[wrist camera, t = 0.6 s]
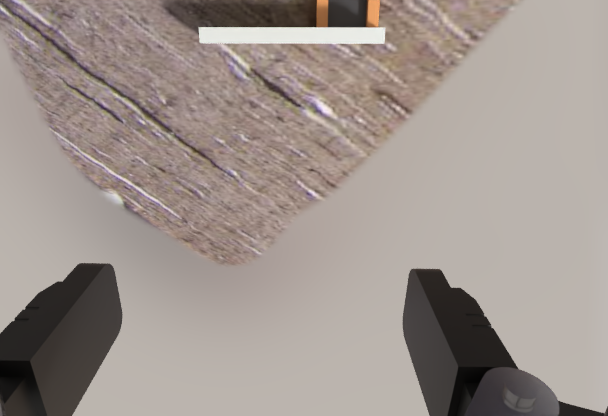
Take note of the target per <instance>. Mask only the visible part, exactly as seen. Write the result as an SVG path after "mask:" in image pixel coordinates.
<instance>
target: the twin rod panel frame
mask: <svg viewBox="0 0 608 416" xmlns="http://www.w3.org/2000/svg"><path fill="white" fill-rule="evenodd" d="M379 4H380V0H317V9H316V27H199V39H200V43H340V44H384V40H385V28H379V27H378V19H379Z"/></svg>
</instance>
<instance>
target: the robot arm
mask: <svg viewBox="0 0 608 416" xmlns="http://www.w3.org/2000/svg"><path fill="white" fill-rule="evenodd" d="M121 324H122V309H121V303H120V298H119V292H118V287H117V282H116V276H115V272H114V268H113V266H112V265H111V264H96V263H81V264H78V265H77V266H76V267H75V268H74V270H73V271H72V272H71V273H70V274H69V275H68V276H67V277H66V279H65V280H64V281H63V282H56V283H55V284H53V285H51V286H50V287H48V288H46V289H45V290H43V291H41V292H40V293H38V294H37V295H36V296H35V298H34V299H33V300H32V301H31V302H30V303H29V304H28V305H27V306H26V309H25V310H22V311H21V312H20V313H19V315H18V316H17V317H16V318H15V321H12V322H11V323H10V324H9V325H8V326H7V327H6V328H5V329H4V330H3V332H1V334H0V416H72V414H73V413H74V411H75V409H76V408H77V406H78V404H79V402H80V401H81V399H82V397H83V395H84V394H85V392H86V390H87V388H88V387H89V385H90V383H91V381H92V380H93V378H94V376H95V374H96V373H97V371H98V369H99V367H100V365H101V364H102V362H103V360H104V359H105V357H106V355H107V353H108V352H109V350H110V348H111V346H112V345H113V343H114V341H115V339H116V338H117V336H118V334H119V331H120V328H121ZM403 332H404V337H405V341H406V344H407V347H408V350H409V353H410V356H411V359H412V363H413V366H414V369H415V372H416V375H417V378H418V381H419V384H420V387H421V390H422V393H423V396H424V399H425V402H426V406H427V408H428V412H429V415H430V416H608V407H607V409H606V412H605V414H604V413H600V412H596V411H592V410H589V409H585V408H581V407H577V406H573V405H570V404H566V403H563V402H560V401H558V400H557V397H556V396H555V394H554V393H553V391H552V390H551V389H550V388H549V387H548V386H547V385H546V384H545V383H544V382H542V381H541V380H540V379H538V378H536V377H535V376H533V375H531V374H529V373H527V372H525V371H522V370H519V369H518V368H517V366H516V364H515V363H514V361H513V360H512V358H511V356H510V355H509V353H508V352H507V350H506V348H505V347H504V345H503V343H502V342H501V340H500V339H499V337H498V335H497V334H496V332H495V330H494V329H493V328H491V324H490V322H489V321H488V319H487V317H484V313H483V311H482V309H481V308H480V306H479V305H478V303H477V301H476V300H475V299H474V298H472V297H471V296H470V295H469V294H467V293H466V292H465V291H464V290H462V289H461V288H451V287H450V286H449V284H448V282H447V280H446V278H445V276H444V274H443V273H442V271H441V270H440V269H412V270H411V271H410V273H409V278H408V285H407V292H406V299H405V306H404V313H403Z"/></svg>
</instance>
